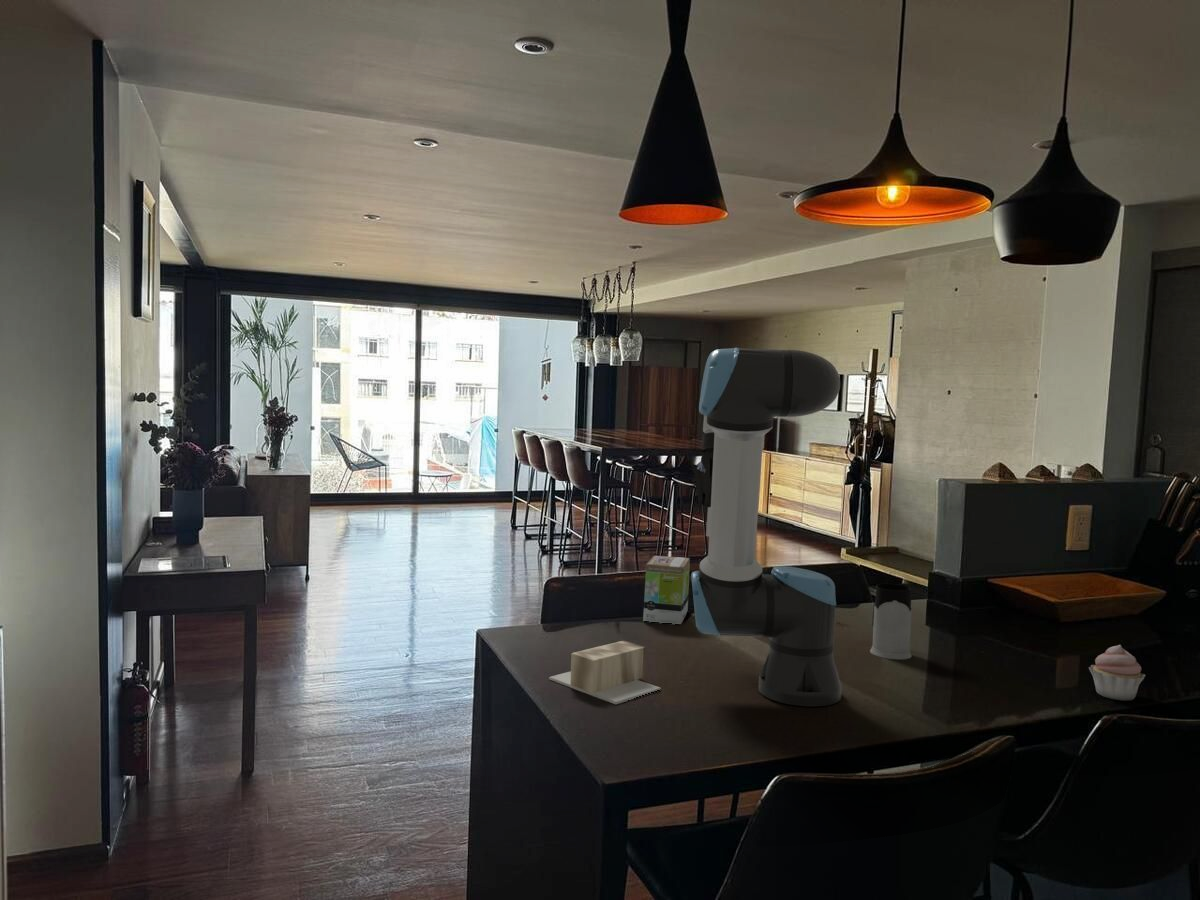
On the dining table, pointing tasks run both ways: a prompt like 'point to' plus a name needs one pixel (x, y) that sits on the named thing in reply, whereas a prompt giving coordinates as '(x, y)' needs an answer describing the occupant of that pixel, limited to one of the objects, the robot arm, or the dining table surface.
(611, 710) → the dining table surface
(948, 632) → the dining table surface
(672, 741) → the dining table surface
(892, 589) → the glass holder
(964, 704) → the dining table surface
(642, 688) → the mat
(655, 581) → the tea box
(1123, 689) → the cupcake
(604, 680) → the beech block
